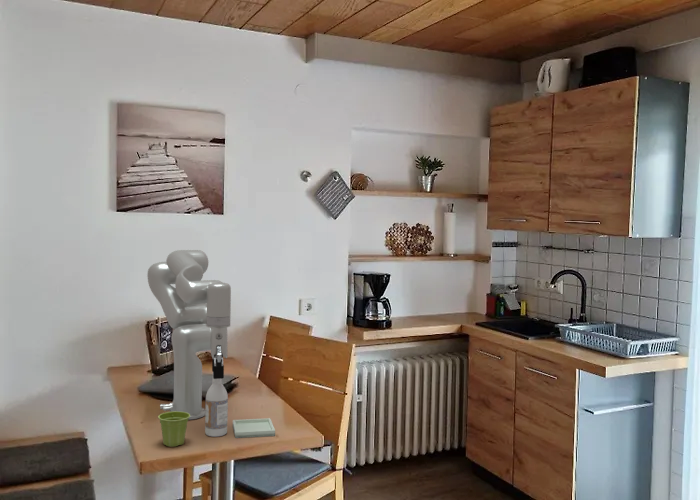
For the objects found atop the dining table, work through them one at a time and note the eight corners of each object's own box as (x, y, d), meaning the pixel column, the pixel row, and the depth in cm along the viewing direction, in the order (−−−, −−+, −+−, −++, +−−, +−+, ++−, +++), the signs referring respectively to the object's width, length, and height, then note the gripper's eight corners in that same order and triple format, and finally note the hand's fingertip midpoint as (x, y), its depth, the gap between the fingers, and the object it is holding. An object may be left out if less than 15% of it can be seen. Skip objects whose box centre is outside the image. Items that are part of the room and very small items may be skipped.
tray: (235, 438, 204) (235, 432, 203) (232, 425, 216) (232, 420, 216) (275, 435, 207) (275, 430, 206) (270, 423, 219) (270, 418, 219)
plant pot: (161, 438, 202) (161, 410, 201) (191, 438, 202) (192, 411, 202) (154, 449, 192) (155, 420, 192) (186, 449, 193) (187, 420, 193)
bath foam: (203, 431, 209) (204, 370, 208) (224, 429, 212) (225, 368, 211) (207, 438, 203) (208, 375, 202) (229, 435, 205) (230, 374, 204)
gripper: (232, 325, 198) (231, 380, 198) (228, 317, 215) (228, 368, 215) (207, 326, 196) (206, 381, 197) (205, 317, 213) (205, 369, 213)
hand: (217, 374), depth 206 cm, fingers open, 9 cm apart
